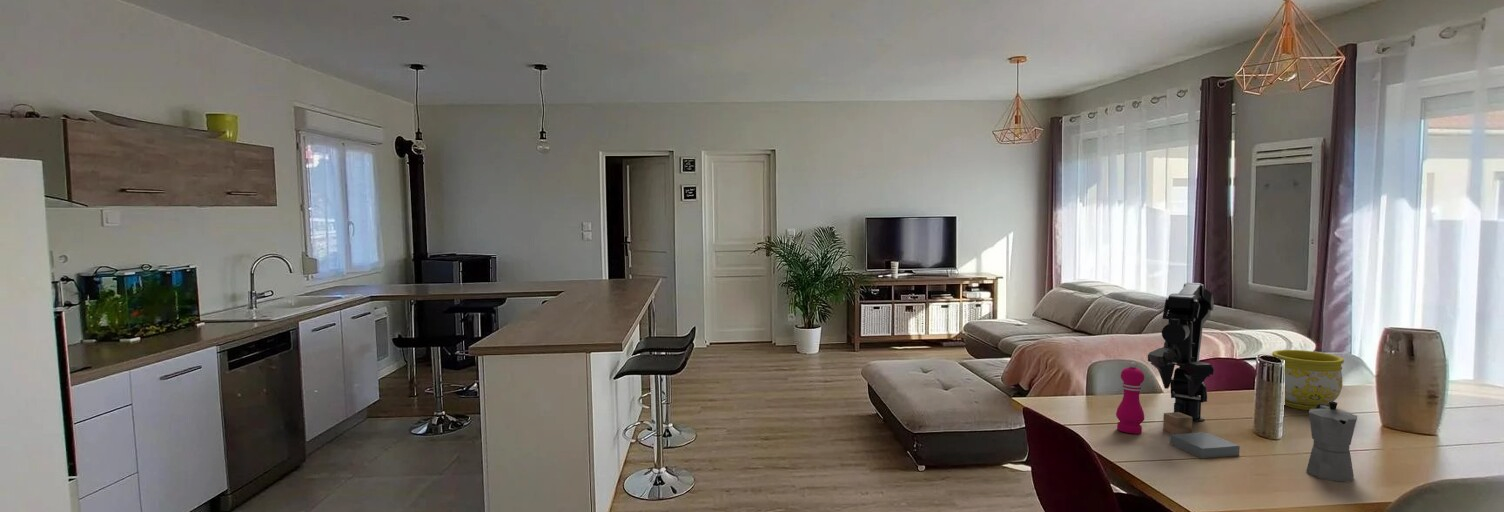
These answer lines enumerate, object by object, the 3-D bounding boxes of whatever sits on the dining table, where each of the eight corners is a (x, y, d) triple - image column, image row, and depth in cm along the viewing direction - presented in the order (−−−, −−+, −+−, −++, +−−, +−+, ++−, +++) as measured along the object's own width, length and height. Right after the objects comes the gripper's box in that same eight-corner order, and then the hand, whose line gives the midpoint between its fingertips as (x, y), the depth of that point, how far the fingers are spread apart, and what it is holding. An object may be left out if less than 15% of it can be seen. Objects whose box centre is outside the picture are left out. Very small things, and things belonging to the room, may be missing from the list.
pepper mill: (1142, 429, 203) (1146, 361, 203) (1144, 435, 197) (1148, 365, 196) (1114, 425, 206) (1118, 358, 206) (1116, 431, 200) (1120, 362, 199)
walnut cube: (1178, 428, 203) (1179, 412, 203) (1191, 434, 199) (1192, 417, 198) (1163, 429, 203) (1163, 413, 202) (1176, 435, 198) (1176, 418, 197)
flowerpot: (1357, 413, 216) (1359, 361, 214) (1298, 414, 216) (1300, 361, 215) (1311, 397, 234) (1313, 349, 232) (1256, 398, 234) (1259, 349, 233)
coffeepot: (1366, 488, 160) (1370, 411, 159) (1316, 482, 164) (1319, 407, 162) (1338, 464, 174) (1342, 394, 173) (1292, 460, 178) (1296, 390, 177)
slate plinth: (1205, 441, 192) (1205, 432, 192) (1239, 455, 182) (1239, 445, 181) (1169, 443, 191) (1170, 434, 191) (1201, 458, 180) (1202, 448, 180)
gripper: (1132, 333, 207) (1130, 385, 208) (1180, 346, 188) (1178, 403, 189) (1165, 332, 208) (1164, 383, 210) (1216, 344, 190) (1214, 400, 191)
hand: (1178, 392), depth 200 cm, fingers open, 9 cm apart
